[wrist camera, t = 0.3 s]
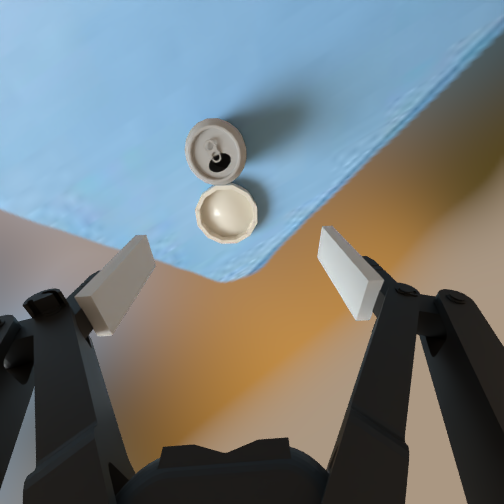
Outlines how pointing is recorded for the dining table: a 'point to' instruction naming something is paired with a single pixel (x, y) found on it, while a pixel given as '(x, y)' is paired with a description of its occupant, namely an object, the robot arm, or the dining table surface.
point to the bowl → (226, 213)
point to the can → (215, 151)
